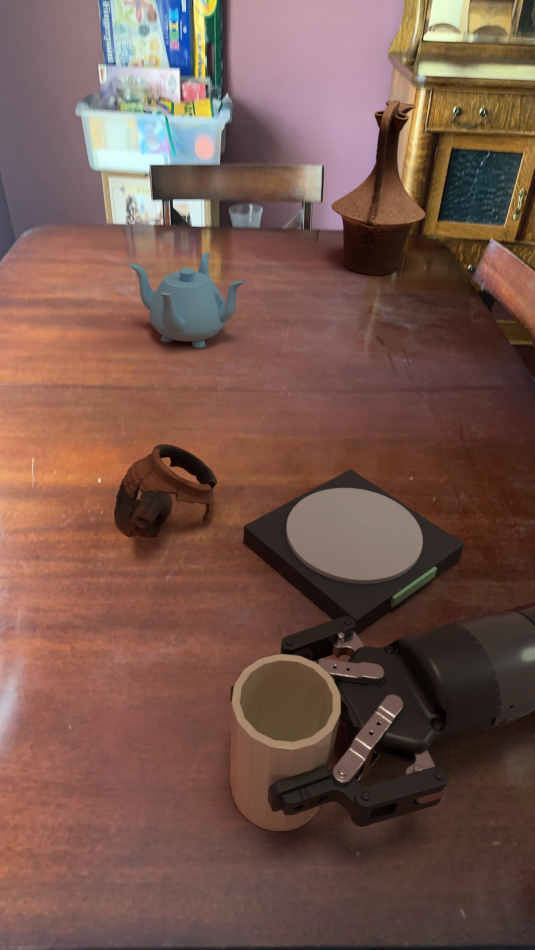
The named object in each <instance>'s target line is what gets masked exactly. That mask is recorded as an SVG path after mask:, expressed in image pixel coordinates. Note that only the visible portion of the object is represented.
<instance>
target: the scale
mask: <svg viewBox="0 0 535 950" xmlns="http://www.w3.org/2000/svg"><path fill="white" fill-rule="evenodd" d="M243 543H244V544H245V545H246V546H247V547H248V548H249V549H251V550H252V552H254V553H255V554H256V555H258V556H259V557H260V558H261V559H262V560H263V561H265V562H266V563H267V565H269V566H270V567H272V568H273V569H274V570H275V571H276V572H277V573H279V574H280V575H281V576H282V577H283V578H284V579H286V580H287V581H288V582H289V583H290V584H291V585H293V586H294V587H295V588H296V589H297V590H298V591H299V592H301V593H302V594H303V595H304V596H305V597H306V598H307V599H309V600H310V601H311V602H312V603H313V604H315V605H316V606H317V607H318V608H319V609H321V611H323V612H324V613H325V614H326V615H328V616H329V617H330V618H331V619H332V620H335V619H338V618H341V617H344V616H349V617H352V618H353V619H354V620H355V623H356V624H355V629H354V631H355V633H356V634H357V635H359V634H360V633H362V632H363V631H364V630H366V629H367V628H368V627H370V626H372V624H374V623H375V622H376V621H378V620H379V619H381V618H382V617H384V616H385V615H386V614H388V613H389V612H390V611H392V610H393V609H394V608H396V607H397V606H399V605H400V604H401V603H402V602H404V601H406V600H407V599H409V598H410V597H411V596H412V595H414V594H415V593H416V592H418V591H419V590H420V589H422V588H423V587H425V586H426V585H427V584H429V583H430V582H432V581H433V580H434V579H436V578H437V577H438V576H440V575H441V574H443V573H444V572H445V571H447V570H448V569H449V568H451V567H452V566H453V565H455V564H456V563H458V562H459V561H460V560H461V556H462V553H463V550H464V546H465V543H464V542H462V541H460V540H459V539H458V538H456V537H454V535H452V534H450V533H449V532H447V531H446V530H444V529H443V528H441V527H440V526H438V525H436V524H435V523H434V522H432V521H431V520H429V519H428V518H426V517H424V516H423V515H421V514H420V513H418V512H417V511H415V510H414V509H412V508H410V507H409V506H408V505H406V504H404V503H403V502H401V501H400V500H398V499H397V498H396V497H394V496H392V495H391V494H389V493H388V492H387V491H386V490H384V489H381V487H379V486H377V485H376V484H374V483H373V482H372V481H370V480H368V479H367V478H365V477H364V476H362V475H361V474H359V473H357V472H356V471H355V470H353V469H348V470H346V471H345V472H343V473H340V474H339V475H337V476H335V477H333V478H331V479H329V480H327V481H326V482H323V483H322V484H320V485H318V486H316V487H314V488H312V489H310V490H308V491H307V492H305V493H303V494H301V495H299V496H298V497H295V498H294V499H292V500H289V501H288V502H286V503H284V504H282V505H280V506H278V507H277V508H275V509H273V510H271V511H269V512H267V513H265V514H263V515H261V516H260V517H258V518H256V519H254V520H251V521H250V522H249V523H247V524H245V525H244V526H243Z"/></svg>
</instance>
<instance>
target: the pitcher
mask: <svg viewBox="0 0 535 950" xmlns="http://www.w3.org/2000/svg"><path fill="white" fill-rule="evenodd" d="M385 105H386V107H385V109H384V110H377V111H375V112H374V119H375V122H376V124H377V126H378V134H377V135H378V136H377V143H376V150H375V151H376V154H375V164H374V165H373V168H372V170H371V172H370V174H368V176H367V177H366V179H364V181H362V182H361V183H360V184H359V185H358V186H356V188H354V189H353V190H352V191H349V192H348V193H347V194H345V195H344V196H342V197H340V198H338V199H337V200H335V201H333V202H332V204H331V209H332V211H334V212H335V213H336V214H338V215H340V218H341V220H342V235H343V236H342V239H343V245H342V246H343V252H342V259H341V262H342V265H343V266H344V267H345V268H348V269H349V270H352V271H354V272H357V273H362V274H367V275H378V276H379V275H388V274H392V273H395V272H396V271H398V270H399V268H400V262H401V258H402V254H403V251H404V249H405V246H406V244H407V241H408V237H409V235H410V232H411V230H412V227H413V226H414V224H415V223H417V222H419V221H422V220H423V219H425V217H426V212H425V210H424V209H423V208H422V207H421V206H420V205H418V203H417V202H416V201H415V200H414V199H413V198H412V197H411V196H410V194H409V193H408V191H407V189H406V188H405V186H404V185H403V182H402V179H401V177H400V171H399V163H398V152H399V141H400V134H401V131H402V130H403V129H404V127H405V125H406V124H407V123H408V121H409V119H410V116H409V115H408V113H409V112H411V111H413V110H414V109H416V105H415V104H414V103H406V102H401V101H400V100H398V99H393V100H387V101H385Z"/></svg>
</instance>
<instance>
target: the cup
mask: <svg viewBox="0 0 535 950" xmlns="http://www.w3.org/2000/svg"><path fill="white" fill-rule="evenodd" d="M237 679H238V680H237ZM237 679H236V681H235V683H234V684H233V685H234V689H233V696H232V703H231V710H230V711H231V713H230V715H231V716H230V772H229V774H230V775H229V785H230V790H231V795H232V799H233V801H234V803H235V805H236V807H237V809H238V811H239V812H240V813H241V815H243V817H244V818H245V819H246V820H248V821H249V822H250V823H252V824H253V825H255V826H257V827H259V828H261V829H264V830H267V831H271V832H287V831H293V830H296V829H298V828H300V827H302V826H304V825H305V824H307V823H309V821H311V820H312V819H313V818H314V817H315V816H316V815H317V813H318V812H319V811H320V808H321V806H322V805H320V806H317V807H314V808H312V809H308V810H306V811H303V812H301V813H298V814H295V815H284V814H283V811H282V810H280V811H277V812H273V811H272V810H271V807H270V804H269V802H268V789H269V787H270V786H271V785H272V784H273V783H275V782H278V781H281V780H283V779H286V778H289V777H292V776H295V775H298V774H301V773H304V772H307V771H311V770H313V769H315V768H318V767H321V766H324V765H326V766H327V768H328V770H330V769H331V766H332V761H333V756H334V751H335V746H336V745H335V744H336V740H337V734H338V728H339V724H340V714H341V698H340V693H339V691H338V688H337V686H336V684H335V679H333V678H332V677H331V676H330V675H329V674H328V673H327V672H326V671H325V670H324V669H323V668H322V667H321V666H320V665H319V664H317V663H315V662H313V661H310V660H308V659H306V658H303V657H301V656H297V655H285V654H280V653H277V654H273V655H269V656H266V657H265V656H264V657H261V658H259V659H257V660H255V661H254V662H252V663H251V664H250V665H248V666H247V667H245V668H244V669H243V670H242V672H241V673H240V675H239V676H238V678H237Z"/></svg>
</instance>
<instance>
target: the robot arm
mask: <svg viewBox="0 0 535 950" xmlns="http://www.w3.org/2000/svg"><path fill="white" fill-rule="evenodd" d="M355 624H356V623H355V620H354V619H353V618H352V617H349V616H344V617H341V618H338V619H335V620H334V619H332V620H329V621H327V622H324V623H321V624H318V625H315V626H312V627H309V628H307V629H303V630H301V631H297V632H295V633H292V634H288V635H286V636H284V637H282V638H281V640H280V641H281V642H280V643H281V644H280V653H279V654H285V655H297V656H301V657H303V658H306V659H308V660H310V661H313V662H315V663H317V664H319V665H320V666H321V667H322V668H323V669H324V670H325V671H326V672H327V673H328V674H329V675H330V676H331V677H332V678H333V680H334V682H335V684H336V686H337V688H338V691H339V693H340V698H341V714H340V719H339V721H341V723H342V724H343V727H344V732H345V736H346V738H347V740H348V741H349V743H350V746H349V747H348V749H347V750H346V751H345V753H344V754H343V755H341V758H340V759H339V760H338V761H337V762H336V763H335V765H334V766H333V768H330V770H328V768H327V766H326V765H324V766H321V767H318V768H315V769H313V770H311V771H307V772H304V773H301V774H298V775H295V776H292V777H289V778H286V779H283V780H281V781H278V782H275V783H273V784H272V785H271V786H270V787H269V789H268V802H269V804H270V807H271V810H272V811H273V812H277V811H280V810H282V811H283V814H284V815H295V814H298V813H301V812H303V811H306V810H308V809H312V808H314V807H317V806H320V805H321V806H323V805H326V804H327V803H333V802H334V803H337V804H340V805H341V806H342V807H343V808H344V809H345V810H346V811H347V812H348V813H349V814H350V820H351V822H352V823H353V824H354V825H355V826H357V827H361V828H362V827H363V828H364V827H367V826H371V825H375V824H377V823H381V822H385V821H388V820H391V819H395V818H398V817H401V816H404V815H409V814H411V813H414V812H418V811H421V810H424V809H428V808H432V807H435V806H437V805H439V804H440V803H441V800H442V797H443V796H444V794H445V791H446V788H447V785H448V782H449V774H448V772H447V771H446V770H445V769H444V768H443V767H440V766H436V764H435V762H434V760H433V758H432V756H431V754H430V752H431V750H432V749H435V748H441V747H444V746H448V745H450V744H453V743H455V742H456V743H457V742H458V741H462V740H464V739H466V738H469V737H472V736H475V735H478V734H480V733H483V732H487V731H489V730H491V729H494V728H497V727H498V728H502V727H505V726H507V725H509V724H511V723H512V722H513V721H517V720H519V719H521V718H524V717H526V716H528V715H529V714H531V713H533V712H534V711H535V601H533V602H529V603H526V604H522V605H520V606H516V607H513V608H508V609H506V610H501V611H497V612H490V613H489V612H487V613H482V614H476V615H473V616H469V617H467V618H466V617H465V618H463V619H460V620H456V621H453V622H450V623H445V624H442V625H439V626H435V627H432V628H429V629H426V630H422V631H419V632H415V633H412V634H409V635H405V636H402V637H400V638H398V639H395V640H394V641H392V642H391V643H389V644H387V645H385V646H370V645H365V644H364V643H363V641H362V640H361V639H360V637H359V636H358V634H356V633H355V631H354V629H355ZM330 656H334V658H337V659H339V658H341V657H342V656H348V657H350V658H349V659H348V660H347V661H345V660H337V659H332V658H328V657H330ZM237 680H238V678H237V679H236V681H237ZM233 689H234V684H233V685H232V686H231V687H230V693H229V694H230V695H229V697H230V698H229V700H230V704H232V696H233ZM382 756H384V757H388V758H391V759H395V760H399V761H402V762H406V763H411V765H409V766H408V767H407V768H406V770H405V771H404V774H403V775H400V776H395V777H392V778H388V779H385V780H382V781H378V782H374V783H370V784H367V785H363V784H362V783H361V780H364V779H365V778H366V776H367V775H368V774H369V772H370V771H371V770H372V768H373V767H374V765H375V764H377V762H378V760H379V759H380V758H381V757H382Z"/></svg>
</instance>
